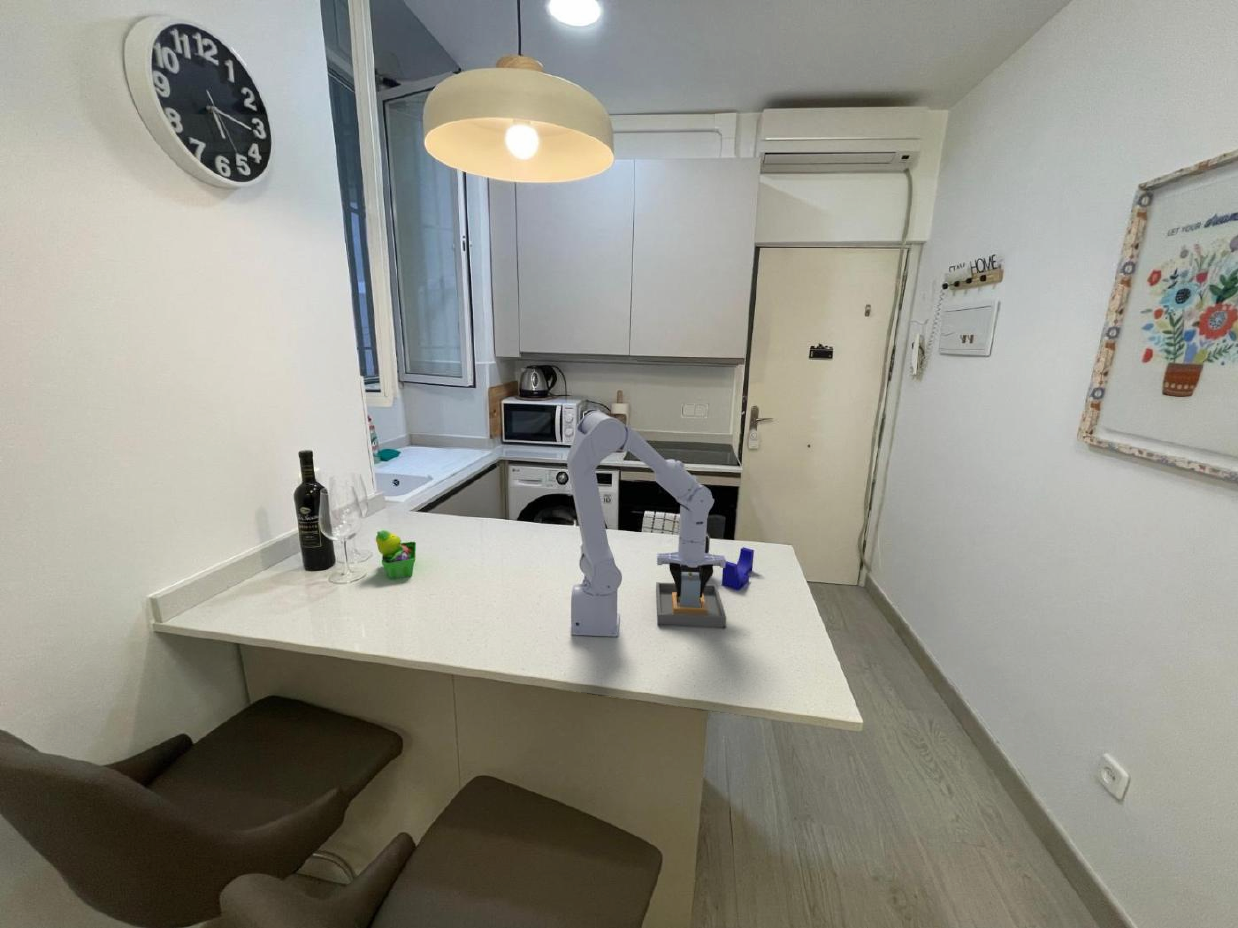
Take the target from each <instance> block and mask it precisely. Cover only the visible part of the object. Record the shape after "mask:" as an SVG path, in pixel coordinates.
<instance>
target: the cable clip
mask: <svg viewBox="0 0 1238 928" xmlns="http://www.w3.org/2000/svg"><path fill="white" fill-rule="evenodd" d="M754 556H755V549H751V548H748V547H740V552H739V557H738V560H737V563H734V562H731V561H727V560H726V565H725V568H722V576H721V577H722V578H721V586H724V587H726V588H729V589H733V590H735V591H738V592H740V591H741V589H743V588H744V587H745V586H746V585H747V584H748V583H749V582H750V576H749V575H750V574H751V573H752V572H753V567H754Z"/></svg>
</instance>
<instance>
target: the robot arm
mask: <svg viewBox="0 0 1238 928" xmlns="http://www.w3.org/2000/svg"><path fill="white" fill-rule="evenodd" d="M618 450H619V451H621V452H625V453H626V452H629V453H631V454H632V455H633V456H634V457H635V458H637V459H639V461H641V462H642V463H643V464H645V466H648V467H649V468H650V469H651V471H653V472H654V481H655V482H656V483H657V484H658V485H659V486H660V487H662V488H663V490H664V491H666V492H668V494H670V495H671V496H672V497H673V498H674V499H675V500H676V502H677V503H679V504H680V507H679V522H678V523H679V527H678V528H679V529H678V548H677V551H672V552H665V553H664V552H663V553H662V552H661V553H657V554H656V555H657V556H656V565H657V566H663V565H668V567H669V572H670V574H671V577H672V578H673V581H674V582H673V583H675V585H676V589H677V597H680V595H681V587H680V583H681V565H687V566H688V567H698V566H699V576H700V580H701V584H700V598H702V594H703V591H704V588H705V586H706V584H708V582H709V580H710V579H711V578H712V576H713V574H714V567H720V568H722V569H723V568H725V565H726V561H727V559H726V556H725V555H719V554H713V553H709V554H708V553H705V544H706V532H707V530H708V529H707V527H708V526H707V525H708V518H709V512H710V510H711V509H712V508H713V505H714V503H715V498H713V495H712V492H711V490H710V488H708V487H706V486H705V485H703V484H701V483H699V481H700V479H699V478H698V477H697V476H696V475H692V474H691V473H690V472H689V471H688V470H686V468H684V467H685V466H686V465H685V464H684V463H683V462H682V461H681V460H676V459H673V458H672V459H671V458H670V459H669V458H668V459H665V458H664V457H662V455H660V453H659V452H658V451H656V450H655V449H654V448H653V446H651V445H650V444H649V443H648V442H647V441H646V439H645V438H643V437H642V436H641V435H640V434H639V433H638V432H636V431H635V430H634V429H632V428H631V427H629V426H627V425H626V424H624V423H623V422H622V421H621V420H620V419H618V418H616V417H613V416H612V417H611V416H610V415H608V414H606V413H604V412H603V411H600V410H593V411H590V412H588V413H586V414H585V415H584V416H583V417H582V419H581V420H580V421H579V422H578V423H577V425H576V426H575V435H574V438H573V440H572V443H571V445H570V449H569V452H568V454H567V457H566V465H567V470H568V476H569V480H570V485H571V490H572V495H573V500H574V501H573V502H574V506H575V507H574V508H575V512H576V517H577V522H578V527H579V533H580V536H581V537H580V538H581V542H582V544H581V545H580V553H581V554H580V557H579V561H578V563H579V565H578V566H579V569H580V570H581V573H583V574H584V576H583V580H582V583H579V584H576V583H575V584H573V585H572V590H571V596H570V598H571V600H570V627H571V628H570V634H571V635H572V636H592V637H593V636H595V637H618V636H619V630H620V629H619V626H620V619H621V618H620V617H621V616H620V615H621V614H620V613H618V591H619V587H620V586H621V584H622V581H623V574H622V571H621V570H620V569H619V567H618V566H617V565H616V562H615V557H614V555H613V552H612V549H611V547H610V545H609V540H608V535H607V534H608V533H607V528H606V524H605V517H604V512H603V506H602V499H601V496H600V490H599V483H598V478H597V477H598V476H597V473H596V469H597V467H598V466H599V465H600V464H601V463H602V462H603V460H605V459H607V458H608V457H610V456H611V455H613V454H614V453H615V452H617V451H618Z"/></svg>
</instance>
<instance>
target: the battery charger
mask: <svg viewBox="0 0 1238 928" xmlns="http://www.w3.org/2000/svg"><path fill="white" fill-rule="evenodd" d="M710 540H711V536H710V533H709V532H708V531H706V544H705V553H708V554H710V544H711V543H710V542H711V541H710ZM681 572H699V566H698V567H688V566H687V565H681Z"/></svg>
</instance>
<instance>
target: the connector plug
mask: <svg viewBox="0 0 1238 928" xmlns="http://www.w3.org/2000/svg"><path fill="white" fill-rule="evenodd" d="M700 584H701V580H700V576H699V572H681V583H680V587H681V595H680V597H679V601H680V607H697V608H699V600H700Z"/></svg>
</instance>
